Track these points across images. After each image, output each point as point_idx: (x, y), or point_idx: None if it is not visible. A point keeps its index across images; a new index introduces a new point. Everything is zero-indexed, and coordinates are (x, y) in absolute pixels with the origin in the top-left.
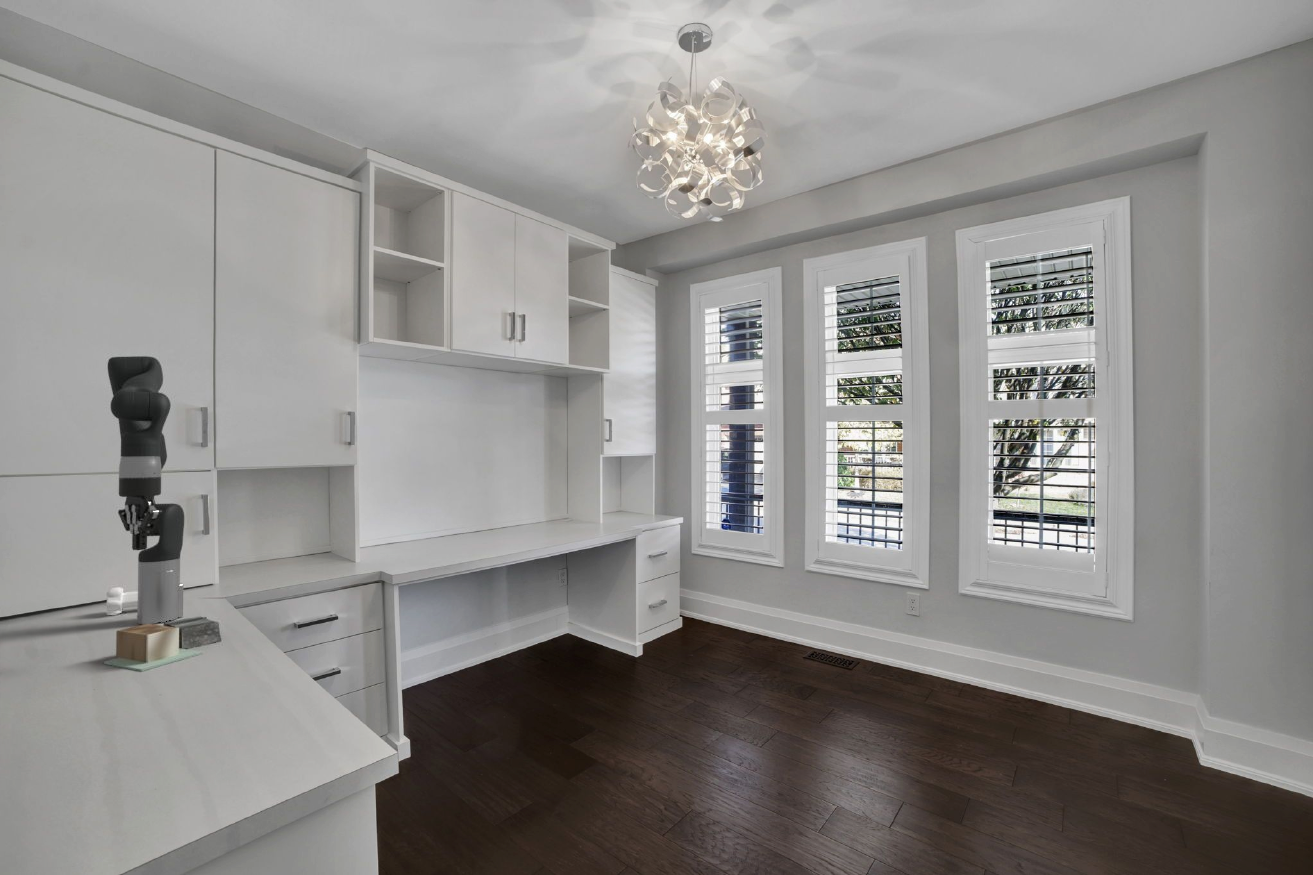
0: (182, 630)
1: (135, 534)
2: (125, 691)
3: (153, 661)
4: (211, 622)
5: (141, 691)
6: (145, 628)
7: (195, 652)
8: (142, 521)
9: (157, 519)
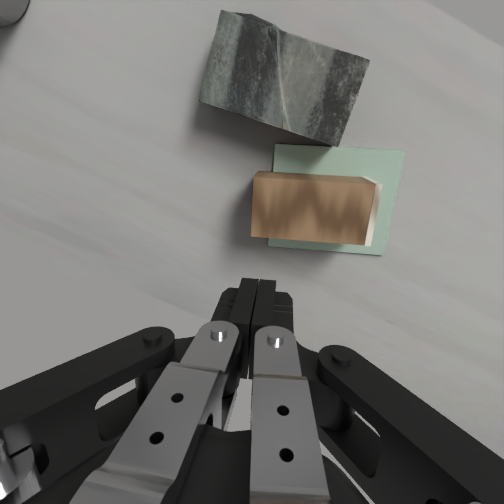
0: (337, 145)
1: (252, 375)
2: (451, 318)
3: None
4: (344, 64)
5: (479, 313)
6: (298, 208)
7: (392, 157)
8: (367, 493)
9: (477, 454)
